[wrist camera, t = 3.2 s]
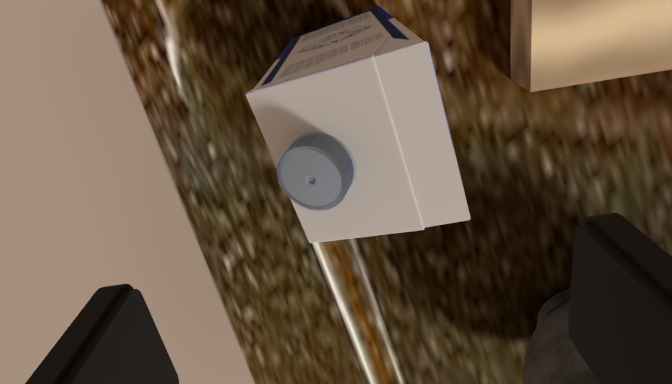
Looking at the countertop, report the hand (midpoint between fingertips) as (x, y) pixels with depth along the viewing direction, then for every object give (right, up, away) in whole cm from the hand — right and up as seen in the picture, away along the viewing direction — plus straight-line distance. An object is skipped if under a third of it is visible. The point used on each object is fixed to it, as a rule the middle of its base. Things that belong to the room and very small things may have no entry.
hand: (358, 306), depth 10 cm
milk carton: (+1, +12, +24) cm, 27 cm away
